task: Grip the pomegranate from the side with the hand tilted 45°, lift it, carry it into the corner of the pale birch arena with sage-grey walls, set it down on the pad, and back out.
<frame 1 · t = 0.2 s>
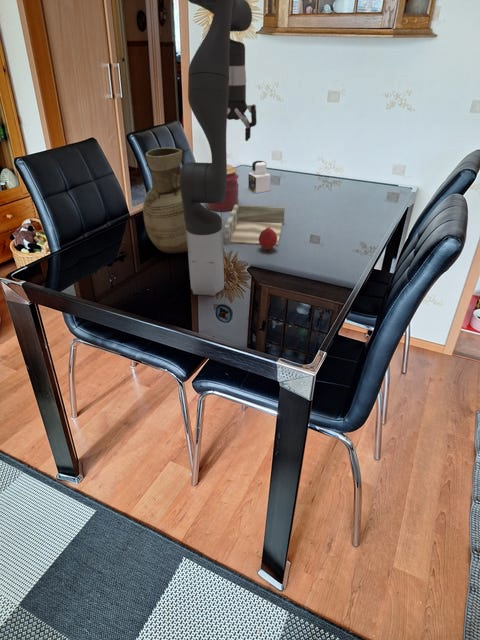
hand: (233, 139, 139), 29 cm above the table, tool pointing down, fingers open, 8 cm apart
ceramic vessel: (176, 246, 142), on the table
canister: (222, 206, 173), on the table
medicine bottle: (259, 190, 189), on the table
pomegranate: (267, 250, 139), on the table
arena: (254, 234, 149), on the table
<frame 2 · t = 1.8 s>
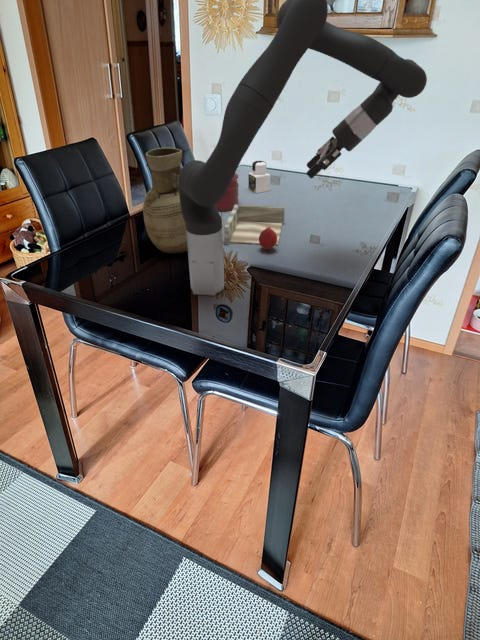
hand: (308, 171, 124), 25 cm above the table, tool tilted 45°, fingers open, 8 cm apart
nothing on the table moved.
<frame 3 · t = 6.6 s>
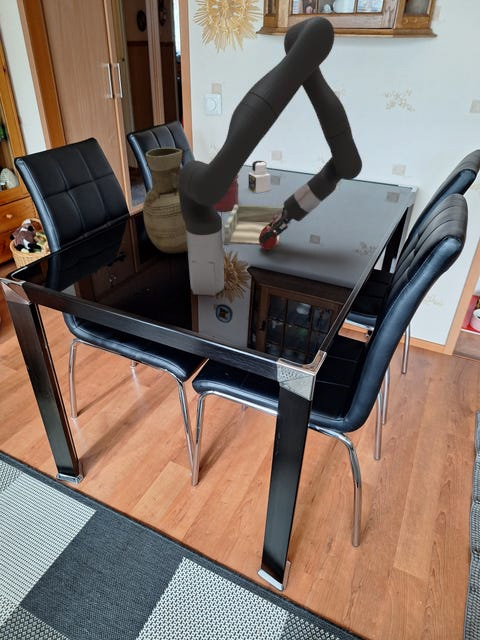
hand: (262, 237, 137), 4 cm above the table, tool tilted 45°, fingers closed on pomegranate, 5 cm apart
pomegranate: (267, 250, 139), on the table, touching gripper
everything else where it was.
when the fingers open (6 cm above the table, at t = 12.5 s): pomegranate drops 1 cm, resting on arena.
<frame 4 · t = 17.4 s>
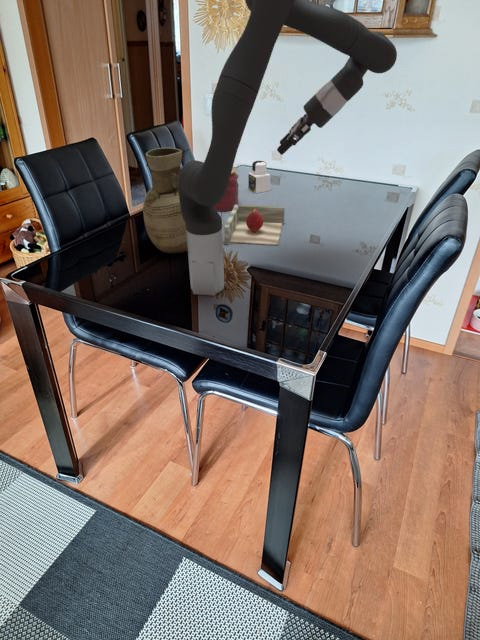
hand: (280, 148, 123), 31 cm above the table, tool tilted 45°, fingers open, 8 cm apart
pomegranate: (254, 232, 149), resting on arena
everything else where it was.
at the end: pomegranate inside the target area on the arena (0.3 cm from its centre), point 0.4 cm above the arena's base; pomegranate touching arena; the gripper is holding nothing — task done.
